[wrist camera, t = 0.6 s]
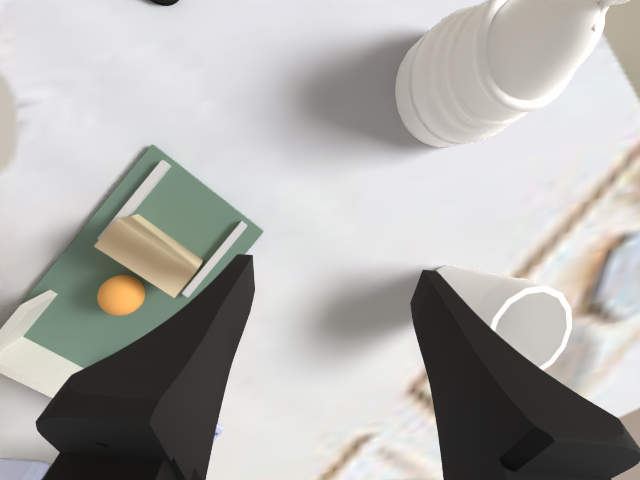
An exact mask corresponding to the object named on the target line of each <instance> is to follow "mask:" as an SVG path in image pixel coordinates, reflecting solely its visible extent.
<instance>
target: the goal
mask: <svg viewBox="0 0 640 480" xmlns="http://www.w3.org/2000/svg"><path fill="white" fill-rule="evenodd" d="M56 296H57V293H55V292H53V291H52V290H48V291H46V292H45V293H43V294H41V295H39V296H37V297H35V298H33V299H31V300H29V301H27V302H25V303H23V304H21V305H20V306H19V307H18V308H17V310H16V311H15V312H14V313H13V315H12V316H11V317H10V318H9V319H8V321H7V322H6V323H5V324H4V325H3V327H2V328H1V329H0V373H1V374H3V375H5V376H7V377H9V378H11V379H13V380H15V381H18V382H20V383H22V384H24V385H26V386H28V387H30V388H32V389H34V390H36V391H38V392H40V393H43V394H45V395H47V396H49V397H51V398H54V396H55V395H56V393H57V392H58V391H59V389H60V388H61V387H62V386H63V384H64V383H65V382H66V381H67V380H68V378H69V377H70V376H71V375H72V374H74V373H76V372H78V371H80V370H82V369H84V368H82V367H80V366H78V365H76V364H75V363H73V362H71V361H69V360H67V359H65V358H63V357H61V356H59V355H57V354H55V353H54V352H52V351H50V350H48V349H46V348H44V347H42V346H40V345H38V344H36V343H34V342H32V341H31V340H29V339H27V338H25V337H23V336H24V335H25V333H26V332H27V331H28V330H29V328H30V327H31V326H32V325H33V324H34V322H35V321H36V320H37V319H38V318H39V316H40V315H41V314H42V313H43V311H44V310H45V309H46V308H47V307H48V305H49V304H50V303H51V302H52V301H53V299H54V298H55V297H56Z"/></svg>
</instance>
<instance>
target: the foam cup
mask: <svg viewBox="0 0 640 480" xmlns="http://www.w3.org/2000/svg"><path fill="white" fill-rule="evenodd" d="M435 271H438V273H439V274H440V275H441V276H442V277H443V278H444V279H445V280H446V281H447V282H448V284H449V285H450V286H451V287H452V288H453V289H454V290H455V291H456V293H457V294H458V295H459V296H460V297H461V298H462V299H463V300H464V301H465V302H466V304H467V305H468V306H469V307H470V308H471V309H472V310H473V311H474V312H475V313H476V314H477V315H478V316H479V317H480V318H481V319H482V320H483V321H484V322H485V323H486V324H487V325H488V326H489V327H490V328H491V329H492V330H493V331H495V332H496V333H497V334H498V335H499V336H500V337H501V338H502V339H504V340H505V341H506V342H507V343H508V344H509V345H511V346H512V347H513V348H514V349H515V350H517V351H518V352H519V353H520V354H522V355H523V356H524V357H525V358H527V359H528V360H529V361H531V362H532V363H533V364H535V365H536V366H537V367H539V368H540V369H541V370H544V369H545V368H547V367H548V366H550V365H551V364H553V362H554V361H555V360H556V358H557V357H558V356H559V355H560V353H561V352H562V351H563V349H564V348H565V346H566V343H567V341H568V338H569V335H570V332H571V329H572V318H571V307H570V306H569V304H568V302H567V301H566V299H565V298H564V296H563V294H562V293H561V292H558V291H556V290H554V289H552V288H550V287H548V286H545V285H543V284H540V283H537V282H534V281H532V280H529V279H526V278H519V279H518V278H513V277H509V276H504V275H499V274H495V273H490V272H485V271H481V270H476V269H472V268H467V267H462V266H458V265H444V266H442V267H441V268H439V269H437V270H435Z"/></svg>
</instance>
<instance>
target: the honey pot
mask: <svg viewBox="0 0 640 480" xmlns="http://www.w3.org/2000/svg"><path fill="white" fill-rule="evenodd" d="M629 1H631V0H600V2H599V3H598V2H597V1H596V0H489V1H486V2H484V3H482V4H480V5H475V6H472V7H467V8H462V9H460V10H457V11H456V12H454V13H452V14H450V15H449V16H447V17H445V18H443V19H442V20H441V21H440V22H439V23H438V24H436V26H434V27H433V28H432V29H431V30H430V31H428V32H427V33H426V34H425V35H424V36H423V37H422V38H421V39H419V40H418V41H417V42H416V43H415V44H414V45H413V46H412V47H411V48H410V50H409V51H408V52H407V53H406V55H405V57H404V59H403V61H402V62H401V64H400V67H399V70H398V74H397V78H396V86H395V98H396V104H397V109H398V112H399V115H400V117H401V119H402V121H403V124H404V125H405V126H406V128H407V129H408V130H409V131H410V133H411V134H412V135H413V136H414V137H416V138H417V139H418V140H420V141H421V142H423V143H425V144H428V145H431V146H434V147H451V146H457V145H462V144H466V143H471V142H477V141H480V140H484V139H488V138H490V137H492V136H493V135H495V134H497V133H498V132H500V131H501V130H503V129H504V128H505V127H506V126H507V125H509V124H511V123H513V122H514V121H516V120H518V119H519V118H521V117H522V116H524V115H525V114H526V113H527V112H529V111H533V110H537V109H540V108H542V107H543V106H545V105H547V104H548V103H550V102H551V101H553V100H554V99H555V98H556V97H557V96H558V95H559V94H560V93H561V92H562V91H563V90H564V88H565V87H566V85H567V84H568V82H569V80H570V79H571V77H572V75H573V73H574V71H575V70H576V69H577V68H578V67H579V66H580V65H581V64H582V62H583V61H584V60H585V59H586V58H587V57H588V55H589V54H590V53H591V51H592V50H593V48H594V47H595V45H596V43H597V42H598V40H599V38H600V36H601V33H602V30H603V27H604V23H605V13H606V11H607V9H608V7H609V5H613V4H614V5H615V4H621V3H626V2H629Z"/></svg>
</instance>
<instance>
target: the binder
mask: <svg viewBox="0 0 640 480" xmlns="http://www.w3.org/2000/svg"><path fill="white" fill-rule="evenodd" d="M150 1H152V2H154V3H156V4H159V5H163V6H170V5H173V4H175V3H176V2H177V1H179V0H150Z"/></svg>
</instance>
